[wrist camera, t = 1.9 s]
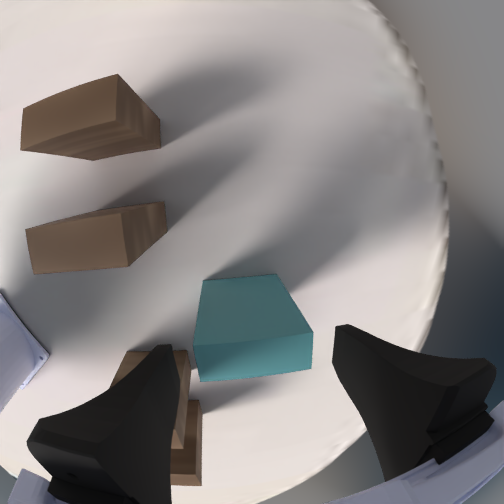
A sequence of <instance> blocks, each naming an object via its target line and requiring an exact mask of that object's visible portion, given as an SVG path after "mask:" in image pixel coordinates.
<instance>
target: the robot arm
mask: <svg viewBox="0 0 504 504" xmlns="http://www.w3.org/2000/svg"><path fill="white" fill-rule="evenodd" d="M48 358H49V355H48V353H47V352H46V350H45V349H44V348H43V347H42V346H41V345H40V344H39V343H38V341H37V340H36V339H35V338H34V337H33V336H32V334H31V333H30V332H29V331H28V330H27V328H26V327H25V326H24V325H23V323H22V322H21V321H20V320H19V318H18V317H17V316H16V314H15V313H14V312H13V310H12V309H11V307H10V306H9V305H8V303H7V302H6V300H5V299H4V298H3V296H2V295H1V293H0V413H1V412H2V410H3V409H4V407H5V406H6V405H7V403H8V402H9V401H10V399H11V398H12V397H13V395H14V394H15V393H16V391H17V390H18V389H19V388H20V389H24V387H25V386H26V385H27V384H28V382H29V381H30V380H31V379H32V377H33V376H34V375H35V374H36V372H37V371H38V370H39V369H40V368H41V366H42V365H43V364H44V363H45V362H46V360H47V359H48ZM332 364H333V366H334V369H335V371H336V374H337V376H338V378H339V380H340V382H341V384H342V385H343V387H344V389H345V390H346V392H347V394H348V395H349V397H350V398H351V400H352V402H353V403H354V405H355V406H356V408H357V410H358V411H359V413H360V415H361V417H362V419H363V421H364V423H365V425H366V427H367V430H368V432H369V434H370V437H371V439H372V442H373V444H374V447H375V450H376V453H377V456H378V459H379V461H380V465H381V468H382V471H383V475H384V479H385V482H384V483H382V484H379V485H377V486H375V487H372V488H369V489H367V490H364V491H361V492H358V493H356V494H353V495H350V496H347V497H344V498H340V499H337V500H333V501H330V502H326V503H323V504H461V503H463V502H464V501H465V500H466V499H468V498H469V497H470V496H472V495H473V494H474V493H475V492H476V491H478V490H479V489H480V488H481V487H482V486H484V485H485V484H486V483H487V482H488V481H489V480H490V479H491V478H492V477H494V476H495V475H496V474H497V473H498V472H499V471H500V470H501V469H502V468H503V467H504V400H503V401H502V402H501V403H500V404H499V405H498V406H496V407H495V408H494V409H493V410H492V411H491V413H490V414H488V413H487V412H486V411H485V410H486V409H487V408H488V406H487V404H485V403H484V400H485V398H486V397H487V395H488V393H489V391H490V389H491V387H492V385H493V382H494V380H495V377H496V367H495V366H494V365H493V364H492V363H490V362H489V361H488V360H486V359H485V358H471V359H457V358H445V357H438V356H432V355H426V354H422V353H418V352H415V351H411V350H408V349H405V348H402V347H399V346H396V345H394V344H391V343H389V342H386V341H384V340H382V339H380V338H377V337H375V336H373V335H371V334H369V333H367V332H365V331H363V330H361V329H358V328H356V327H354V326H352V325H349V324H346V325H340V326H336V327H335V338H334V348H333V358H332ZM179 398H180V377H179V373H178V369H177V366H176V362H175V358H174V354H173V350H172V345H171V344H167V345H157V346H156V347H155V348H154V349H153V350H152V351H151V352H150V353H149V354H148V355H147V356H146V357H145V358H144V359H143V360H142V361H141V362H140V363H139V364H138V365H137V366H136V367H135V368H134V369H133V370H132V371H130V372H129V373H128V374H127V375H126V376H125V377H124V378H122V379H121V380H120V381H119V382H118V383H116V384H115V385H114V386H112V387H111V388H109V389H108V390H107V391H105V392H104V393H102V394H100V395H99V396H97V397H95V398H93V399H92V400H90V401H88V402H86V403H84V404H82V405H80V406H78V407H75V408H73V409H70V410H68V411H65V412H62V413H59V414H56V415H52V416H49V417H45V418H41V419H39V420H38V422H37V424H36V426H35V427H34V429H33V431H32V433H31V434H30V436H29V438H28V440H27V446H28V449H29V451H30V452H31V454H32V455H33V456H34V458H35V459H36V460H37V461H38V462H39V463H40V464H41V465H42V466H43V467H44V468H45V469H46V470H47V471H48V472H49V473H50V474H51V475H52V476H53V477H52V479H51V482H49V481H48V480H46V479H45V478H43V477H41V476H39V475H36V474H34V473H32V472H30V471H28V470H26V469H22V470H21V472H20V474H19V476H18V478H17V481H16V483H15V485H14V488H13V490H12V492H11V495H10V497H9V500H8V502H7V504H172V501H171V479H170V463H171V443H172V436H173V430H174V425H175V420H176V415H177V409H178V404H179Z"/></svg>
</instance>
